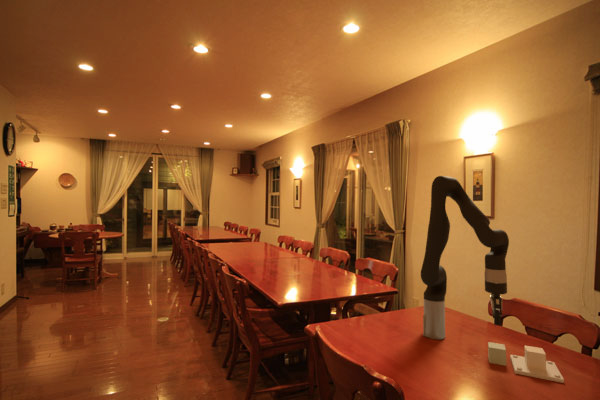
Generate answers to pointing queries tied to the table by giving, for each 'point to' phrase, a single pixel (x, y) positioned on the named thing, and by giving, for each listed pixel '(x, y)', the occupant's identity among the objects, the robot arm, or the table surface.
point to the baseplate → (549, 374)
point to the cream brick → (535, 358)
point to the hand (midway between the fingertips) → (496, 321)
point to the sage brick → (497, 353)
